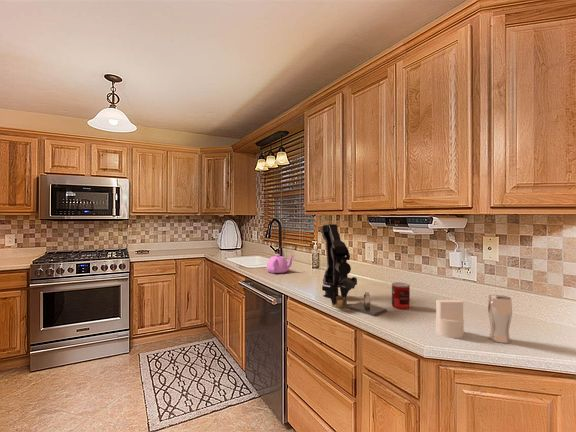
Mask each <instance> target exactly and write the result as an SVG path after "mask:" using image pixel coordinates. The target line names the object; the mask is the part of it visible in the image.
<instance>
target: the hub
mask: <svg viewBox="0 0 576 432" xmlns="http://www.w3.org/2000/svg"><path fill="white" fill-rule="evenodd" d="M347 299H348V298H347V297H341V295H340V296H336V303H335V305H333V303H332V302H331V307H333V308H338V309H343V308H348V300H347Z"/></svg>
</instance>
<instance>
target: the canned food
mask: <svg viewBox="0 0 576 432" xmlns="http://www.w3.org/2000/svg"><path fill="white" fill-rule="evenodd" d="M410 290H411V289H410V283H406V282H399V281H397V282H395V281H394V282H392V284H391V306H392V307H393V308H394V309H396V310H408V309H409V308H410V305H411V304H410V300H411V298H410Z"/></svg>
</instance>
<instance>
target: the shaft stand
mask: <svg viewBox="0 0 576 432" xmlns="http://www.w3.org/2000/svg"><path fill="white" fill-rule="evenodd" d="M347 310H351V311H355V312H358V313H362V314H366V315H369V316H373V317H376V316H379V315H381V314H383V313H386V312H388V311H387V308H385V307H380V306H378V305H373V304H371V294H370V292H367V291H366V292H365V293H364V294H363V302H362V301H360V302H357V303H354V304H350V305H347Z"/></svg>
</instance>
